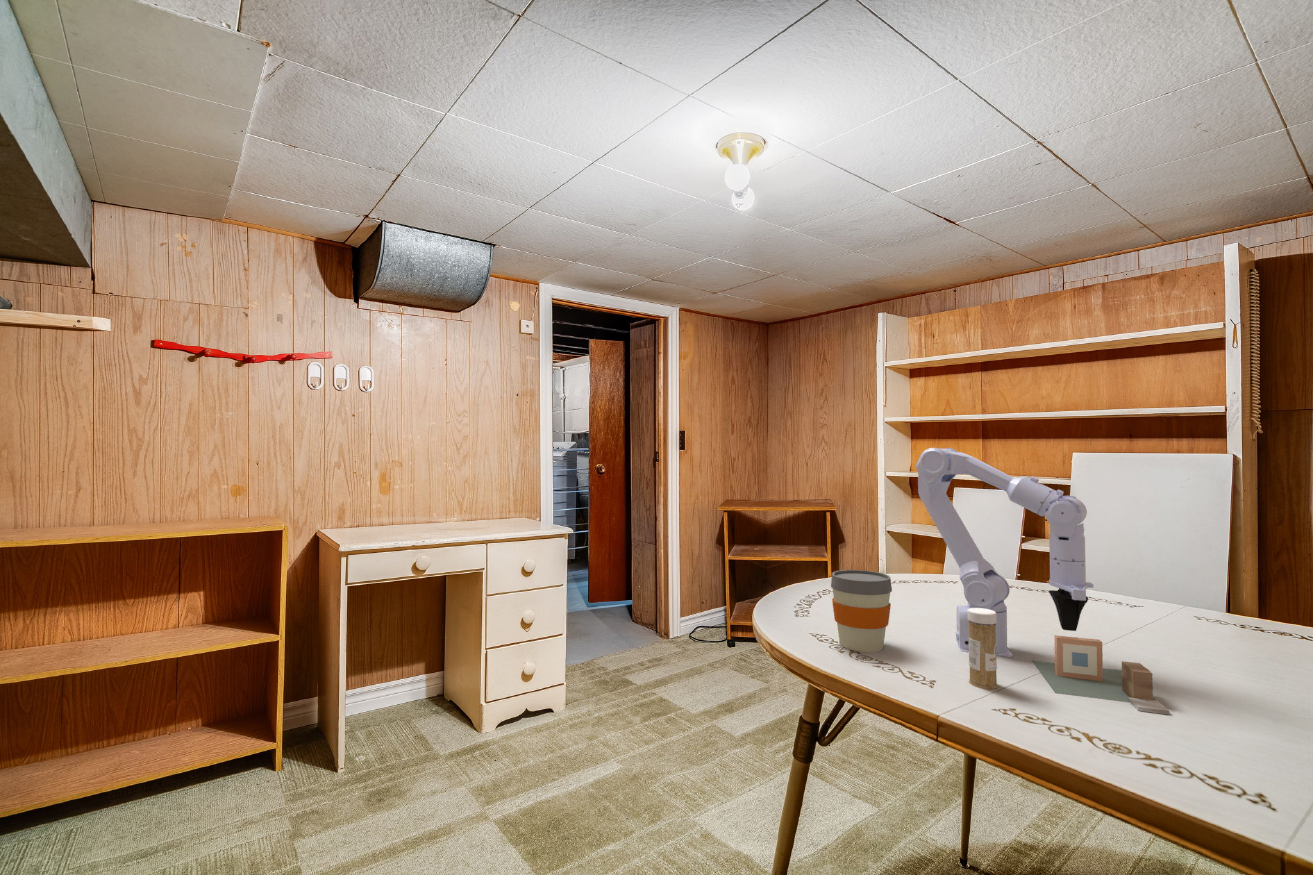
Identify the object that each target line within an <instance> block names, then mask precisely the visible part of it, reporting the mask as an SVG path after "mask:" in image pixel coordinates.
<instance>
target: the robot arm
mask: <svg viewBox="0 0 1313 875" xmlns="http://www.w3.org/2000/svg"><path fill="white" fill-rule="evenodd" d="M915 468H916V470H917V475H918V478H917V481H918V482H917V486H918V487H917V488H918V490H917V492H918V495H919V498H920V500H921V502H922V504H923V505H924V507H925V509H926V511H927V512H928V514H929V516H930V518H931V519H932V521H933V523H934V525H935V527H936V528H937V530H938V532H939V534H940V536H941V537H942V539H943V541H944V543H945V544H946V546H947V548H948V551H949V552H950V553H951V555H952V556H953V559H954V560H955V562H956V564H957V566H958V568H959V580H960V581H961V584H962V586H963V595H964V599H965V600H966V601H967V605H957V606H956V632H955V639H956V643H957V646H958V648H959V651H960V652H964V653H969V622H968V621H969V620H968V609H970V608H984V609H989V610H993V611H995V612H996V614H997V623H996V656H999V657H1009V658H1012V657H1013V656H1014V655H1013V653H1012V652H1011V650H1010V649H1009V647H1008V607H1007V606H1006V604H1005V600H1006V599H1007V598H1008V597H1009V595H1010V589H1011V588H1010V584H1009V582H1008V581H1007V579H1006V578H1004V577H1003V576H1002V575H1001V574H999V573H998V572H997V570H995V568H994V566H993V565H992V563H990V562H989V561H987V559H985V558H984V556H983V554H982V553H981V551H980V549H979V548H978V546H977V544H976V543H975V541H974V539H973V537H972V536H971V534H970V532H969V530H968V529H967V527H966V525H965V524H964V521H963V520H962V519H961V517H960V515H959V513H958V512H957V510H956V508H955V506H954V505H953V503H952V502H951V500H950V498H949V496H948V494H947V491H948V489H949V487H950V484H951V481H953V479H954V478H955V477H956V476H957V475H968V476H970V477H972V478H973V477H974V478H975V479H977V480H979V481H982V482H984V483H987V484H988V485H991V486H994V488H995V487H996V488H997V489H1000V490H1002V491H1004V492H1006V494H1007V497H1008V498H1009V501H1010V502H1012V503H1014V504H1016V505H1018V506H1020V507H1022V508H1024V509H1027V510H1028V511H1030V512H1032V513H1035V514H1037V515H1039V517H1045V519H1046V520H1047V522H1048V523H1049V535H1048V536H1049V537H1048V538H1049V539H1048V540H1049V580H1048V584H1049V586H1052V587H1054V588H1057V590H1054V589H1053V590H1052V589H1050V590H1048V593H1049V595H1050V596H1051V599H1052V601H1053V603H1054V606H1055V608H1056V612H1057V618H1058V620H1059V624H1060V627H1061V629H1062V630H1063V631H1069V632H1077V629H1078V626H1079V621H1080V619H1081V614H1082V611H1083V609H1084V608H1085V605H1086V604H1087V603H1088V602H1089V597H1088V596H1087V589H1088V588H1091V589H1093V588H1094V583H1093V582H1089V581H1087V577H1086V576H1087V574H1086V572H1087V571H1086V570H1087V569H1086V536H1085V523H1083V522H1084V521H1085V519H1086V518H1087V515H1088V511H1087V507H1086V505H1085V504H1084V502H1082V501H1081V500H1080V499H1078V498H1077V497H1076V496H1074V495H1064V493H1065V492H1064V490H1061V489H1057V490H1055V489H1053V488H1050V487H1048V486H1047V485H1045V484H1042V483H1040V482H1039V481H1040V479H1039V478H1037V477H1035V476H1031V477H1027V476H1026V475H1024V476H1020V477H1017V478H1015V477H1013V476H1011V475H1009V474H1007V473H1005V472H1003V471H1002V470H999V469H998V468H996V467H993V466H991V465H990V464H988V463H986V462H984V461H982V460H980V459H978V458H976V457H974V456H972V455H969V454H967V453H964V452H961V451H958V450H956V449H954V448H949V447H946V448H937V447H930V448H927V449H925V450H923V452H922V453H921V454H920V456H919V458H918V461H917V463H916V465H915Z"/></svg>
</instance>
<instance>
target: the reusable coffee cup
mask: <svg viewBox="0 0 1313 875" xmlns="http://www.w3.org/2000/svg"><path fill="white" fill-rule="evenodd" d="M830 588H832V594H833V596H832V597H833V598H831V601H832V608H833V618H834V621H835V622H836V624H837V626H836V627H837V633H838V634H837V635H838V640H839V645H840V646H841V647H843V648H845V649H847V650H851V651H854V652H862V653H876V652H880V651H882V650H883V649H884V644H885V637H886V628H887V627H888V626H889V621H890V614H891V608H892V607H891V605H892V604H891V602H890V598H891V597H890V596H891V592H892V591H893V586H892V580H891V576H890V575H888V574H887V573H886V574H885V573H882V572H877V571H872V570H862V569H842V570H835V571H833V572H832V573H831V581H830Z"/></svg>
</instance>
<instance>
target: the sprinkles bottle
mask: <svg viewBox="0 0 1313 875" xmlns="http://www.w3.org/2000/svg"><path fill="white" fill-rule="evenodd" d="M968 620H969V621H968V622H969V652H968V666H969V679H968V683H969V684H970V685H971V686H973V687H976V688H979V689H985V690H994V689H997V688H998V682H997V676H998V675H997V669H998V667H997V663H998V662H997V659H998V658H997V655H996V623H997V614H996V612H995V611H993V610H989V609H984V608H970V609H968Z"/></svg>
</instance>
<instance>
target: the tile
mask: <svg viewBox="0 0 1313 875" xmlns="http://www.w3.org/2000/svg"><path fill="white" fill-rule="evenodd" d="M1053 636H1054V637H1053V638H1054V663H1055V674H1056V675H1057V676H1062V677H1071V678H1079V679H1088V680H1096V681H1103V668H1104V664H1103V642H1102V640H1101V639H1098V638H1097V639H1095V638H1086V637H1076V636H1066V635H1065V636H1064V635H1056V634H1055V635H1053Z"/></svg>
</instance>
